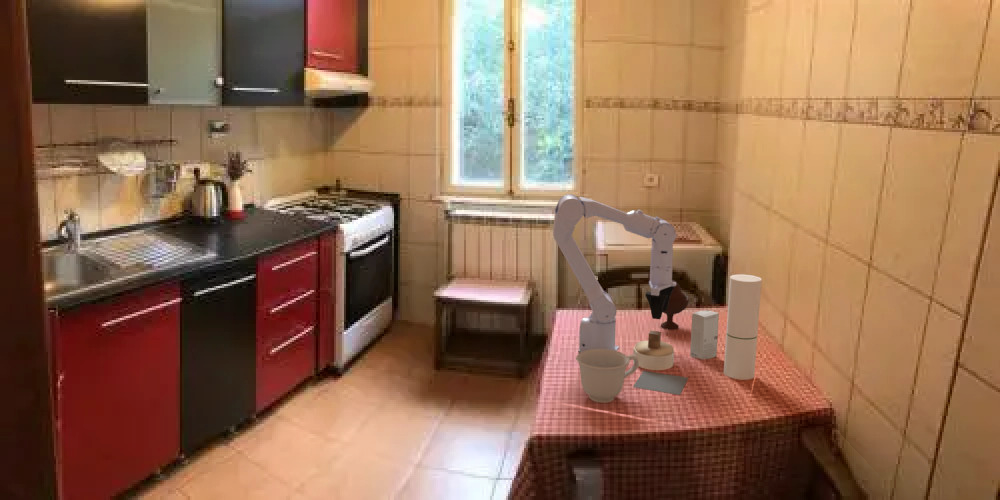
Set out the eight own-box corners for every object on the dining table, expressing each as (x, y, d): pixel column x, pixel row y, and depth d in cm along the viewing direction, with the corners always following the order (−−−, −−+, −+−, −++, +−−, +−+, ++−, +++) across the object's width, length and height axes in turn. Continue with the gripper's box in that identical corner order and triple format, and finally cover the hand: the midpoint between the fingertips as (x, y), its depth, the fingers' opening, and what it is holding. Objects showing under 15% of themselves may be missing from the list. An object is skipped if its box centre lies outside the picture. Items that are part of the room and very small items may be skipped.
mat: (632, 388, 158) (632, 386, 158) (643, 372, 168) (643, 370, 168) (679, 396, 153) (680, 394, 153) (688, 379, 163) (688, 377, 163)
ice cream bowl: (692, 332, 197) (695, 283, 194) (654, 332, 197) (656, 283, 194) (683, 321, 207) (685, 274, 204) (647, 321, 207) (649, 274, 204)
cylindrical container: (753, 372, 167) (761, 275, 162) (754, 382, 161) (762, 282, 156) (723, 368, 170) (730, 273, 164) (723, 379, 163) (729, 280, 158)
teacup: (649, 405, 149) (651, 363, 147) (588, 413, 145) (589, 370, 143) (624, 384, 161) (626, 344, 159) (567, 391, 157) (567, 351, 154)
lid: (631, 353, 170) (631, 335, 169) (639, 341, 178) (640, 324, 177) (669, 358, 166) (670, 341, 165) (676, 346, 174) (677, 329, 173)
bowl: (628, 367, 171) (629, 353, 170) (638, 354, 180) (638, 340, 179) (669, 374, 166) (669, 359, 166) (676, 360, 175) (677, 346, 175)
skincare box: (702, 361, 175) (704, 317, 172) (688, 356, 178) (691, 312, 176) (717, 356, 178) (720, 313, 175) (704, 351, 182) (706, 308, 179)
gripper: (671, 273, 169) (669, 324, 172) (681, 261, 182) (679, 308, 185) (643, 270, 172) (642, 320, 175) (655, 259, 185) (654, 306, 188)
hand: (659, 314), depth 180 cm, fingers open, 7 cm apart
